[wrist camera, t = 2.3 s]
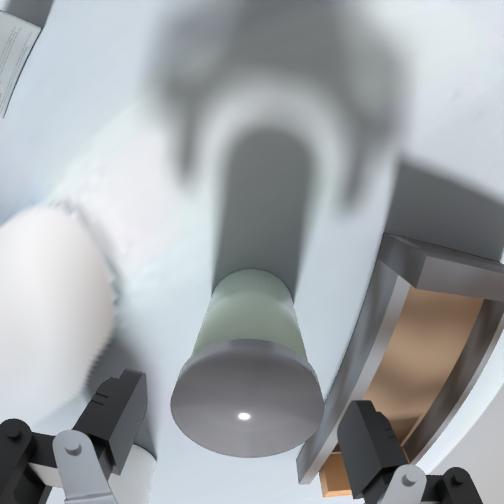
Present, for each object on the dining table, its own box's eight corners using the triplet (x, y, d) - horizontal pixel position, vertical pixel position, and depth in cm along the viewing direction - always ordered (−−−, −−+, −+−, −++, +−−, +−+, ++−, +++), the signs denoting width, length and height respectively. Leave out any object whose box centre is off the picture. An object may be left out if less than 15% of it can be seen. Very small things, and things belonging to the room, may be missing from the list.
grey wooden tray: (383, 232, 16) (426, 255, 11) (500, 262, 16) (540, 283, 12) (296, 460, 22) (300, 501, 17) (400, 453, 22) (413, 485, 18)
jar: (213, 258, 17) (171, 345, 8) (304, 273, 17) (345, 368, 8) (203, 336, 18) (171, 445, 10) (285, 349, 18) (300, 461, 10)
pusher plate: (321, 454, 20) (328, 491, 16) (403, 447, 21) (416, 477, 16) (317, 461, 21) (323, 497, 17) (398, 454, 21) (410, 484, 17)
